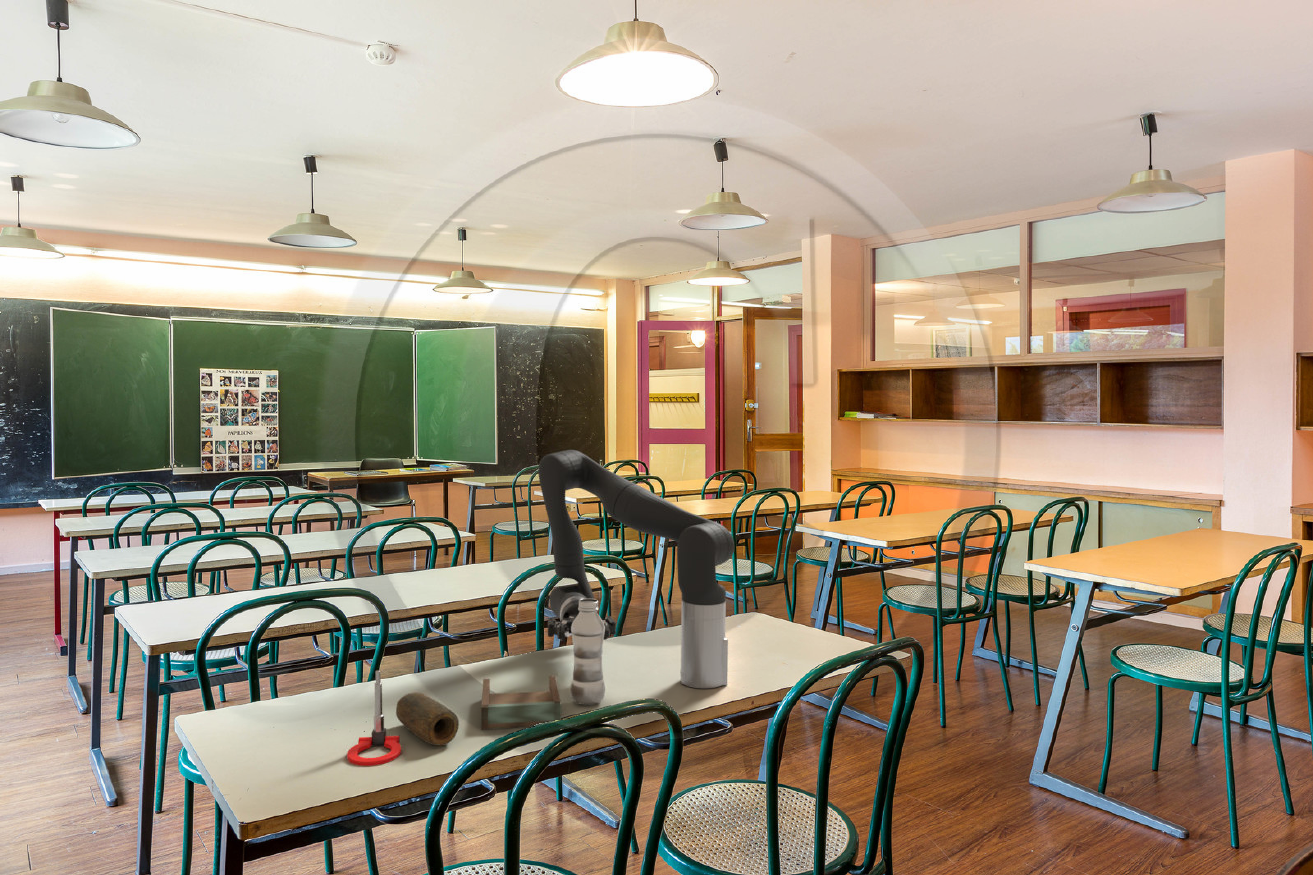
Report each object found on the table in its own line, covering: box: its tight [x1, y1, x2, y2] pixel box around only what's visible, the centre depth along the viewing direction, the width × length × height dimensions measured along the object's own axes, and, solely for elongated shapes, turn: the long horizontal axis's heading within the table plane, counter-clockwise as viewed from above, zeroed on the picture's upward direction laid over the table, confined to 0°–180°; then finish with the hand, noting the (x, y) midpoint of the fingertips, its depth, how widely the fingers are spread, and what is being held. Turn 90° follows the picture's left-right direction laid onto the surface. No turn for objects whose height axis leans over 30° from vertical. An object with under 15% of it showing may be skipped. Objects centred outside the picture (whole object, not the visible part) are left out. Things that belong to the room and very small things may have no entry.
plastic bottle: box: [570, 598, 606, 706], centre depth 166 cm, size 6×7×20 cm
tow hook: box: [346, 670, 402, 767], centre depth 141 cm, size 8×13×9 cm
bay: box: [480, 675, 562, 731], centre depth 161 cm, size 14×16×4 cm
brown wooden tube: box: [395, 692, 460, 746], centre depth 149 cm, size 15×7×7 cm, turn 42°
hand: (584, 635), depth 174 cm, fingers open, 8 cm apart
